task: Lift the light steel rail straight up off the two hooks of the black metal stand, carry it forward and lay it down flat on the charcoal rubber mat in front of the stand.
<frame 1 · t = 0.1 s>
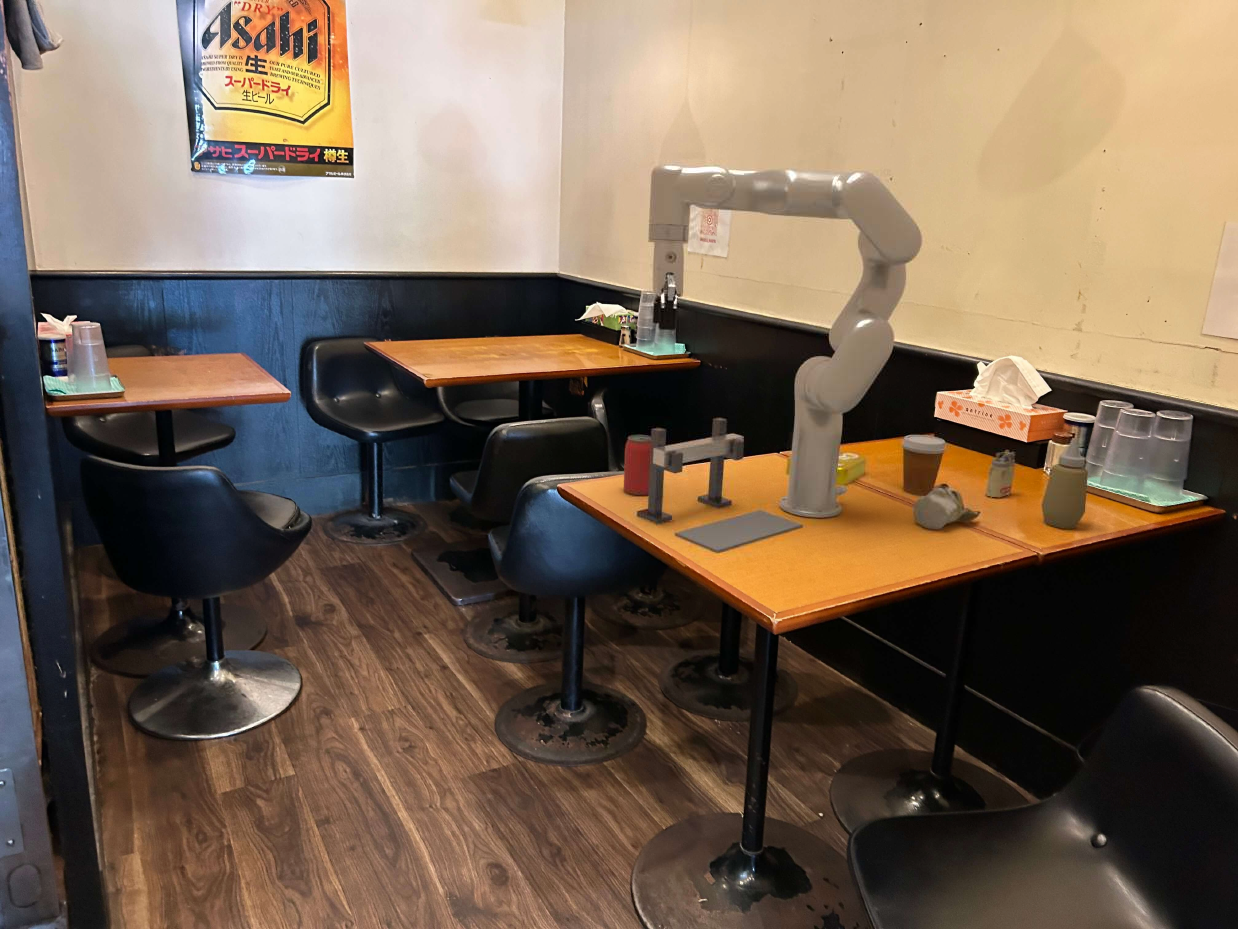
hand: (663, 326, 171), 37 cm above the table, fingers open, 9 cm apart
element tile: (825, 475, 211), on the table
disposable coffee cup: (917, 492, 199), on the table
mat: (740, 531, 169), on the table
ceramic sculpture: (939, 524, 179), on the table
rail: (699, 456, 175), point 12 cm above the table, touching hook stand
hook stand: (685, 510, 180), on the table
beer can: (638, 492, 192), on the table
squeeze bottle: (1059, 525, 180), on the table
lighter: (997, 495, 199), on the table
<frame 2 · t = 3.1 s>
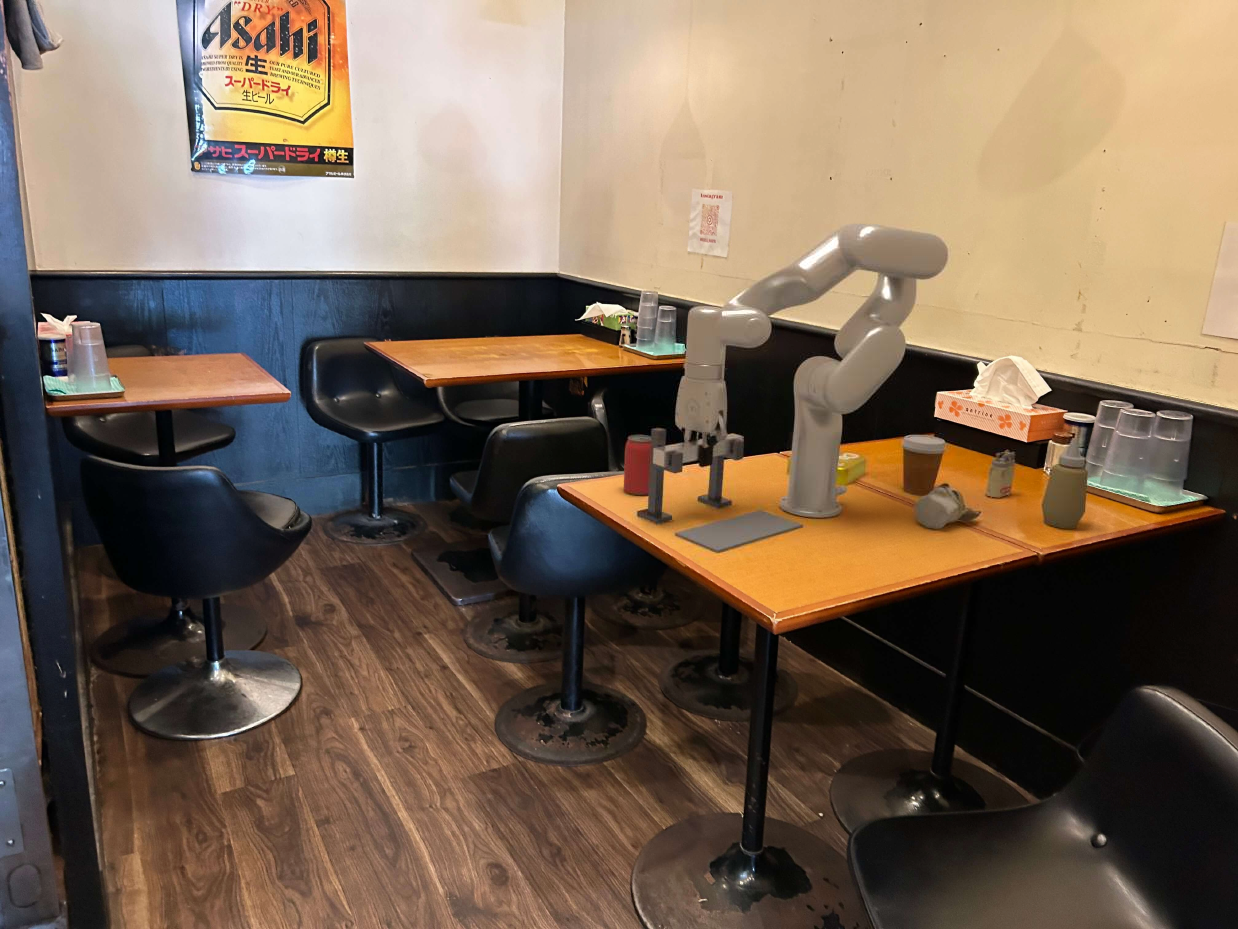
hand: (698, 462, 175), 11 cm above the table, fingers closed on rail, 3 cm apart
rail: (699, 456, 175), point 12 cm above the table, touching gripper, hook stand
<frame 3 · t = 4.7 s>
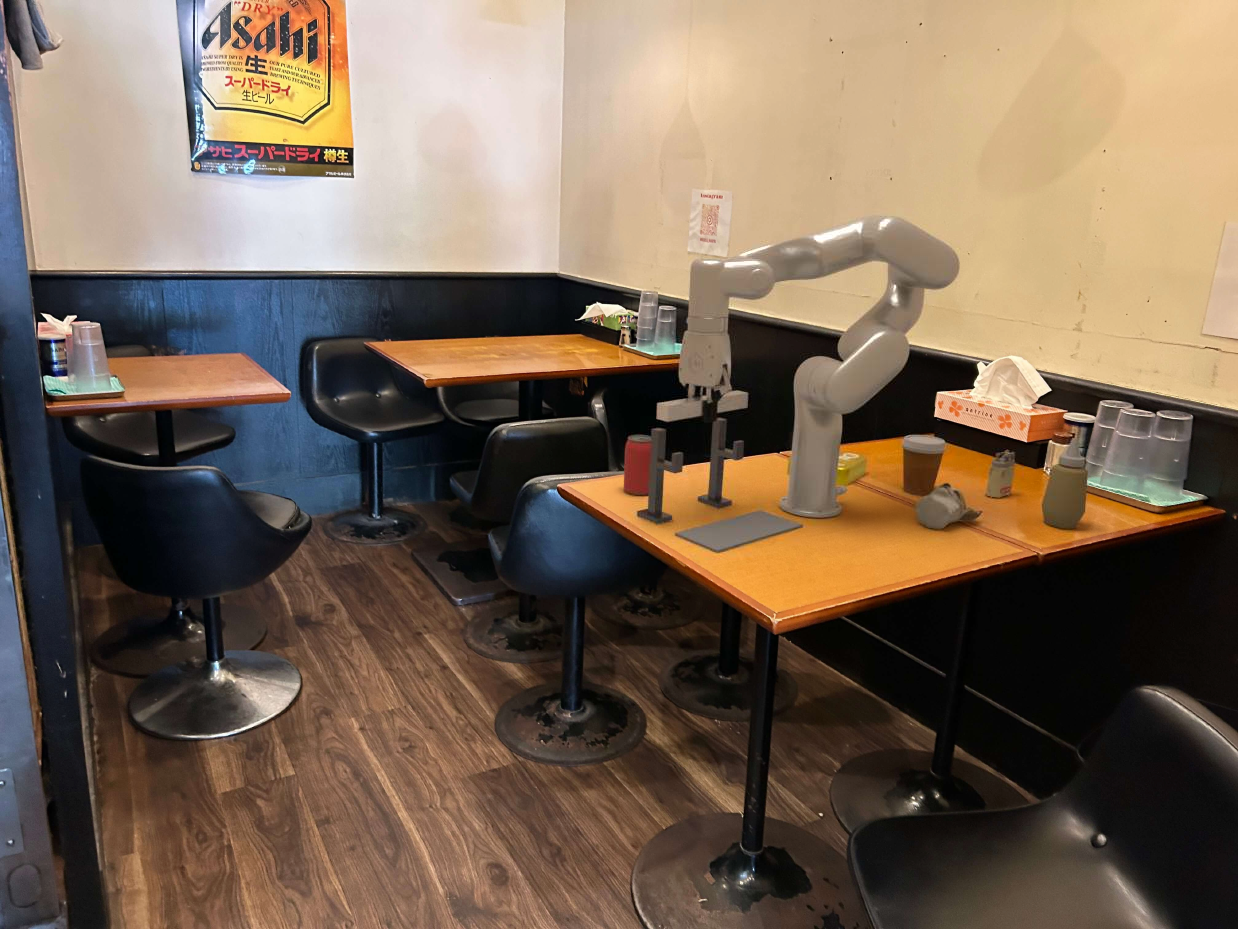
hand: (703, 419, 173), 20 cm above the table, fingers closed on rail, 3 cm apart
rail: (703, 412, 173), point 21 cm above the table, touching gripper
everything else where it was.
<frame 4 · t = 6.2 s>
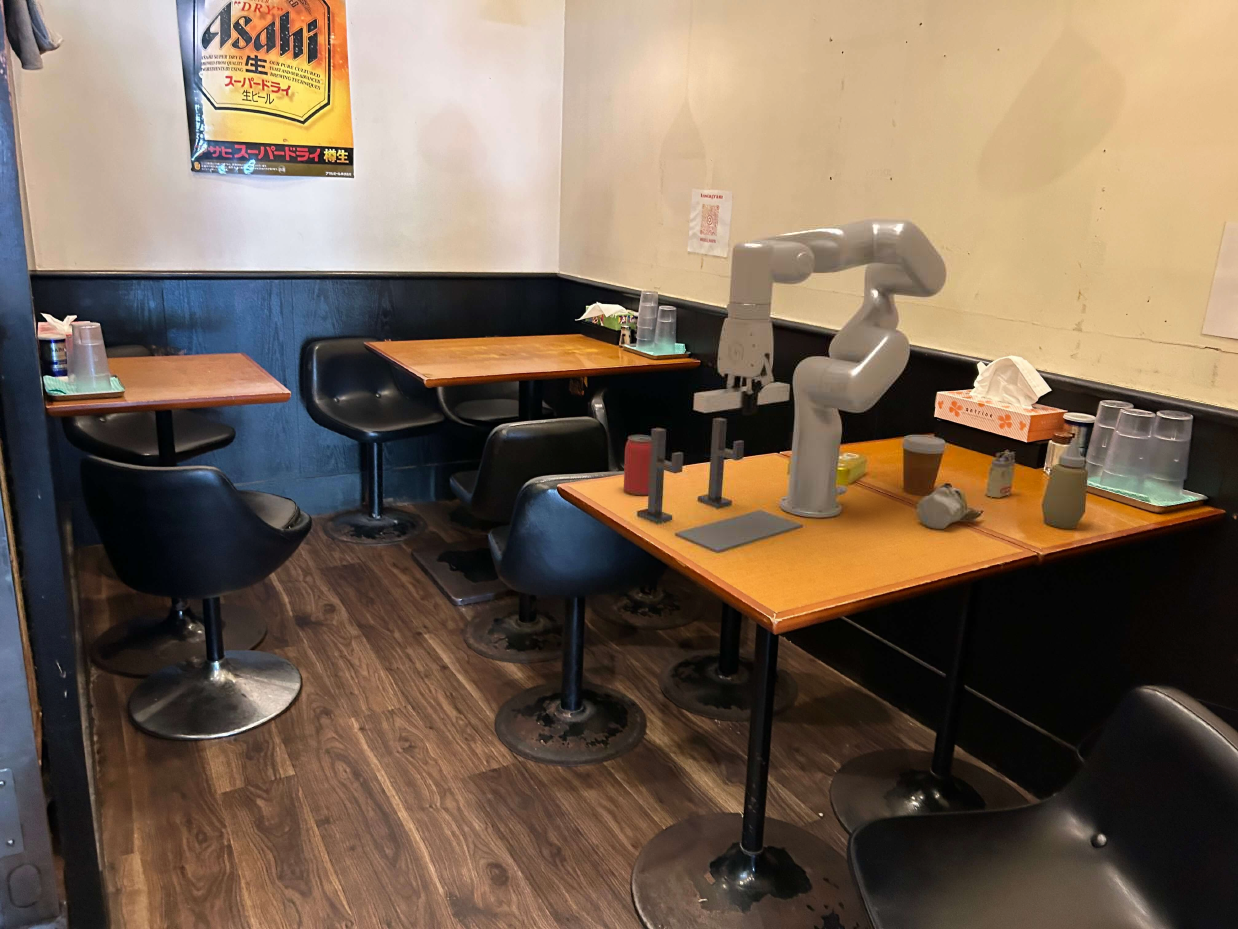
hand: (742, 411, 164), 23 cm above the table, fingers closed on rail, 3 cm apart
rail: (742, 404, 164), point 24 cm above the table, touching gripper
everything else where it was.
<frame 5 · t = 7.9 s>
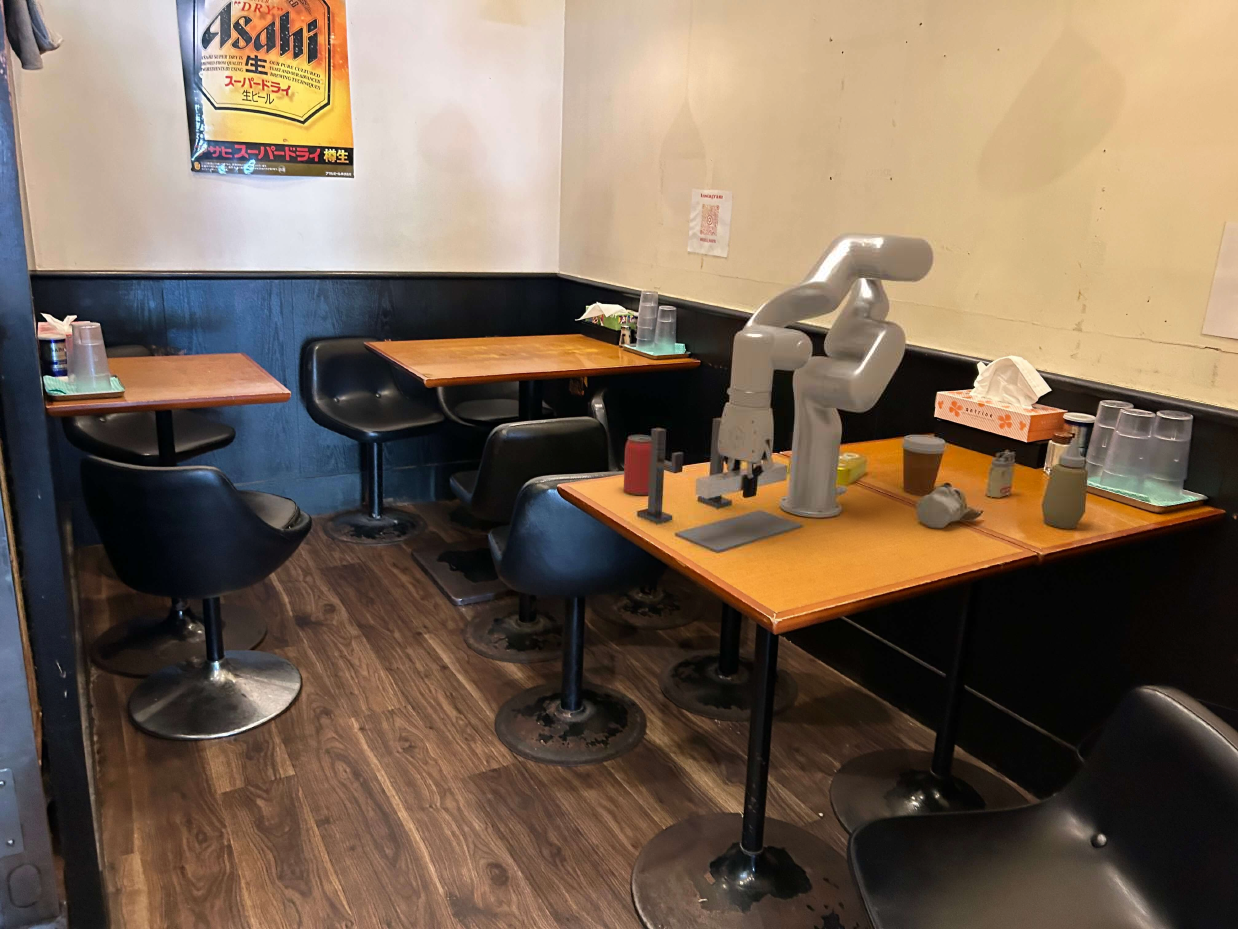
hand: (742, 493, 167), 8 cm above the table, fingers closed on rail, 3 cm apart
rail: (742, 487, 167), point 9 cm above the table, touching gripper
when the fingers open (1 cm above the table, at t = 9.3 s): rail drops 2 cm, resting on mat.
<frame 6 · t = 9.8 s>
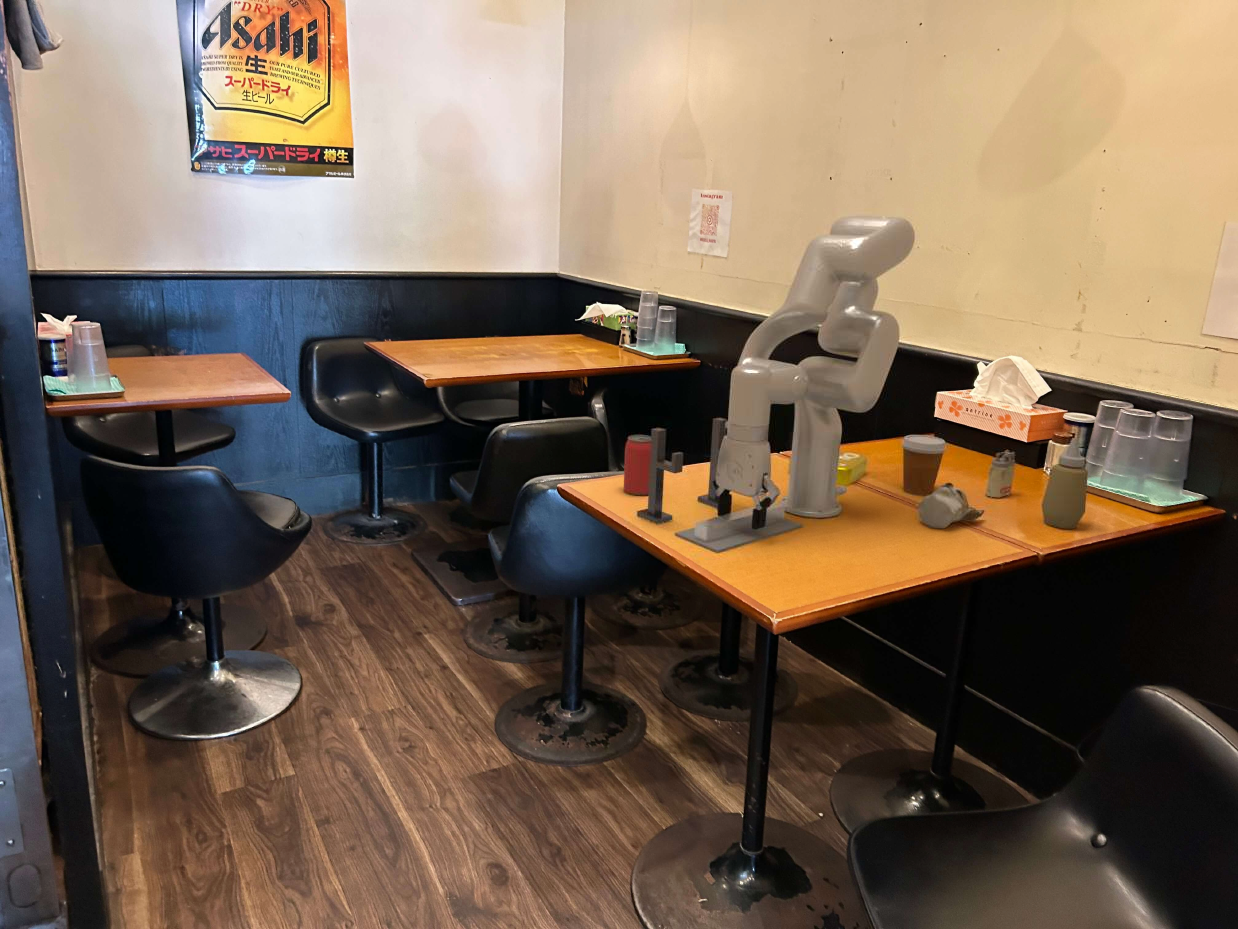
hand: (740, 521, 169), 2 cm above the table, fingers open, 8 cm apart
rail: (740, 528, 169), resting on mat
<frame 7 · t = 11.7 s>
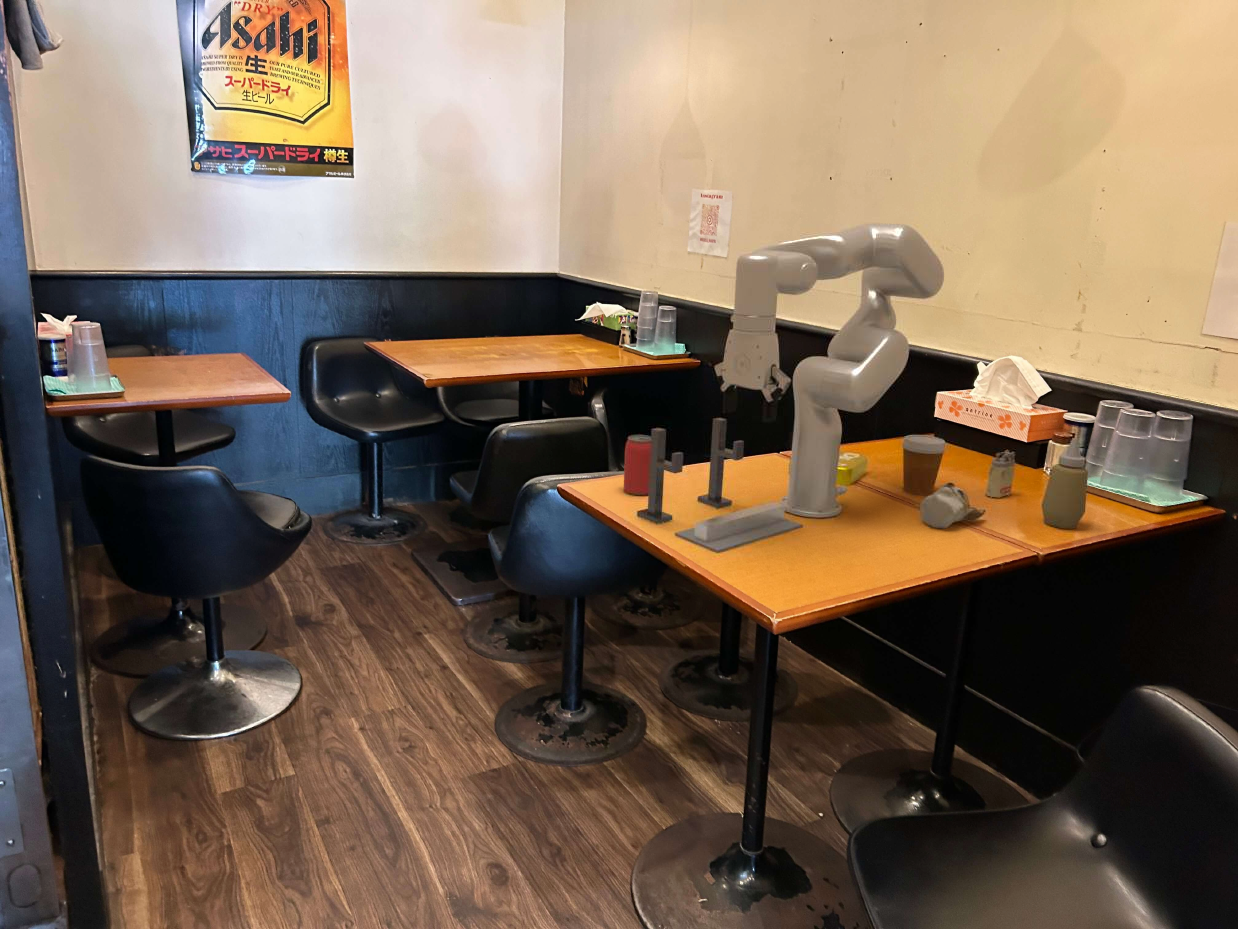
hand: (748, 416, 165), 22 cm above the table, fingers open, 9 cm apart
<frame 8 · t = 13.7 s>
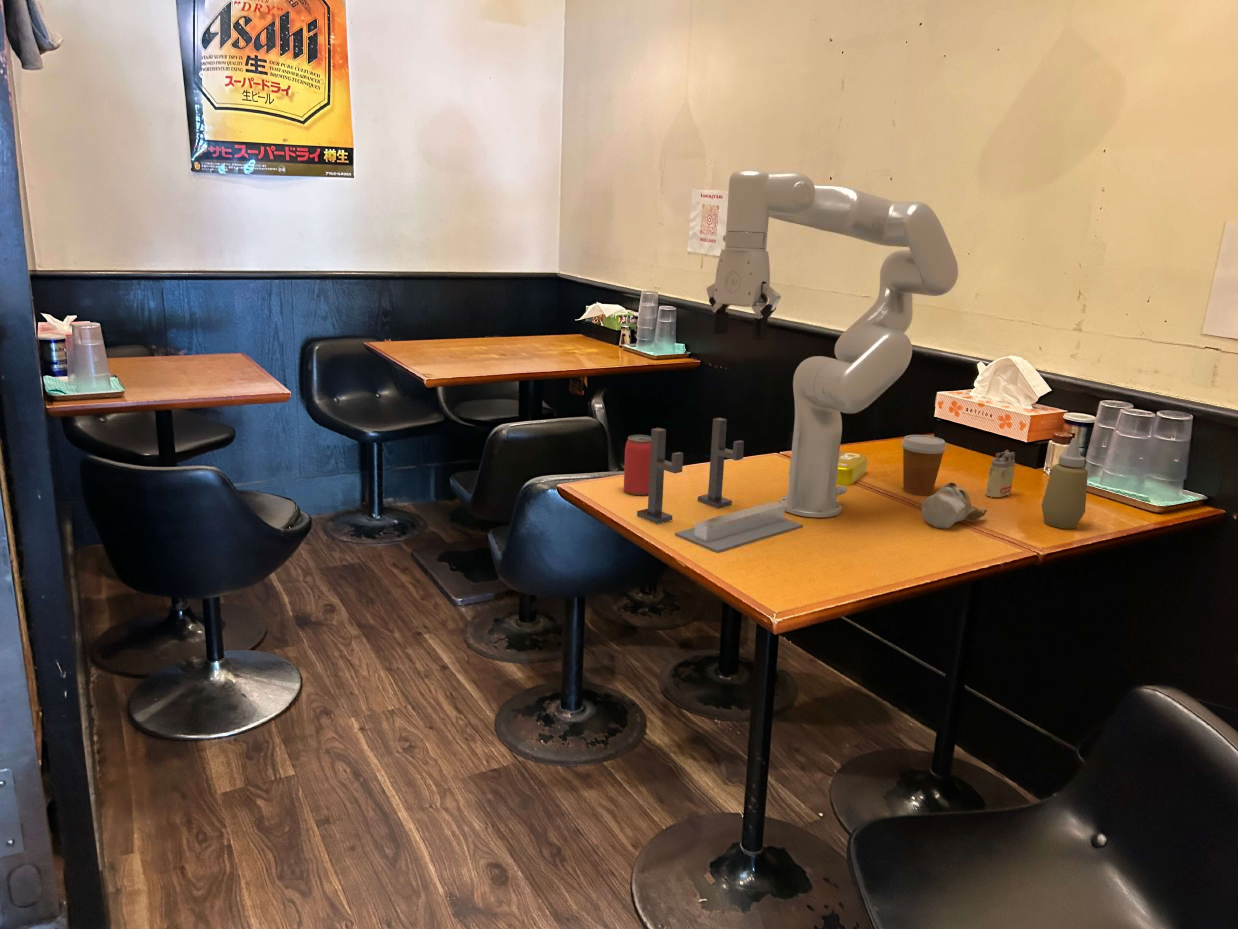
hand: (739, 336, 166), 36 cm above the table, fingers open, 9 cm apart
at the end: rail inside the target area (0.1 cm from its centre), point 0.5 cm above the table; rail tilted 0°; the gripper is holding nothing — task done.
